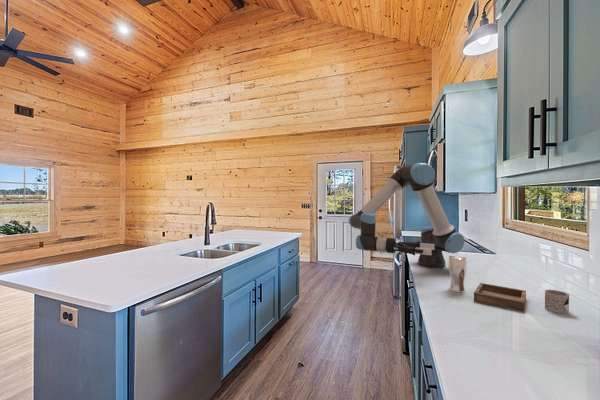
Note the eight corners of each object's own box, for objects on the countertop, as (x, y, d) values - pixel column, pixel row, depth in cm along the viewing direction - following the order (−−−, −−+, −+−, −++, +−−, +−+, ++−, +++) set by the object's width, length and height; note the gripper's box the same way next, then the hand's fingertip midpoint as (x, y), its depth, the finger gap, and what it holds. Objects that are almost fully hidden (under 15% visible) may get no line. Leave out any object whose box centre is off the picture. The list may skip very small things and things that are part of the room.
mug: (570, 316, 100) (570, 297, 100) (545, 311, 104) (545, 293, 104) (566, 306, 108) (566, 289, 108) (543, 302, 112) (543, 286, 112)
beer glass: (469, 293, 123) (469, 259, 123) (453, 293, 123) (453, 259, 123) (460, 287, 130) (460, 255, 130) (445, 287, 130) (445, 255, 130)
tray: (480, 290, 126) (480, 282, 126) (525, 299, 115) (526, 290, 115) (473, 301, 114) (473, 292, 114) (524, 311, 103) (524, 302, 103)
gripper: (392, 248, 153) (435, 252, 142) (380, 257, 131) (429, 263, 120) (392, 234, 152) (435, 237, 142) (380, 241, 131) (430, 245, 120)
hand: (433, 249), depth 131 cm, fingers open, 13 cm apart
